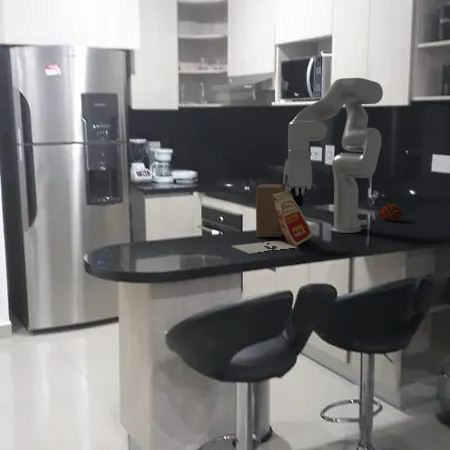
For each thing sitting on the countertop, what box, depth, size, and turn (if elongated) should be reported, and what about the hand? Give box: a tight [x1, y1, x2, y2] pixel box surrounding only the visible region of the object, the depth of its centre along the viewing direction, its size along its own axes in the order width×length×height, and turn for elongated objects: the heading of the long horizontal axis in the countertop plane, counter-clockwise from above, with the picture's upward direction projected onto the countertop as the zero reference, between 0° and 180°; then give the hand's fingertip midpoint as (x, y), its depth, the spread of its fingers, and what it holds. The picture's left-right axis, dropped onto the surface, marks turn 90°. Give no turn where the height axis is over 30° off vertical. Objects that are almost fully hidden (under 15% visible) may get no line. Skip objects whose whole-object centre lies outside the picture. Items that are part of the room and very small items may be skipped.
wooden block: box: [255, 183, 285, 238], centre depth 255 cm, size 10×10×20 cm
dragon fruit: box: [378, 203, 404, 222], centre depth 286 cm, size 8×8×12 cm
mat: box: [231, 240, 298, 255], centre depth 234 cm, size 20×14×1 cm
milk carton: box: [273, 190, 314, 247], centre depth 237 cm, size 9×9×20 cm
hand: (298, 205), depth 237 cm, fingers closed
